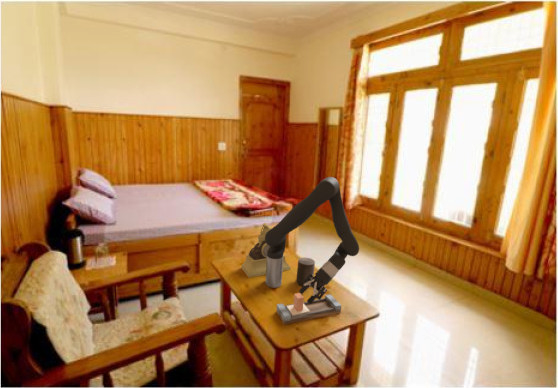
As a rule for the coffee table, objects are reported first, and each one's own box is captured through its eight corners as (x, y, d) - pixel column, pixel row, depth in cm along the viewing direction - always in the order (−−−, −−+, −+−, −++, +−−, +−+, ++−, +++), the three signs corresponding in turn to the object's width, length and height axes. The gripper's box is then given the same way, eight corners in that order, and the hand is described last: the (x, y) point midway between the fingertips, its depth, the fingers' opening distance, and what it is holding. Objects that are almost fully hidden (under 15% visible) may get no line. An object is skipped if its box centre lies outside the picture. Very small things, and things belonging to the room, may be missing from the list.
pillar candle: (298, 287, 165) (300, 262, 162) (294, 278, 174) (296, 255, 171) (315, 286, 167) (317, 262, 164) (310, 278, 176) (312, 254, 173)
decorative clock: (248, 277, 173) (250, 229, 167) (241, 268, 184) (242, 222, 178) (290, 269, 186) (293, 224, 179) (280, 261, 197) (283, 218, 190)
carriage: (286, 308, 142) (287, 293, 140) (302, 305, 145) (304, 290, 144) (292, 317, 136) (293, 301, 134) (309, 313, 139) (310, 298, 137)
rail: (276, 311, 142) (276, 304, 141) (329, 301, 153) (330, 294, 152) (284, 324, 133) (284, 316, 132) (340, 312, 144) (341, 305, 143)
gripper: (315, 261, 147) (293, 286, 145) (330, 275, 134) (306, 301, 132) (323, 270, 150) (302, 293, 148) (339, 283, 137) (315, 310, 135)
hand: (304, 297), depth 140 cm, fingers open, 8 cm apart
